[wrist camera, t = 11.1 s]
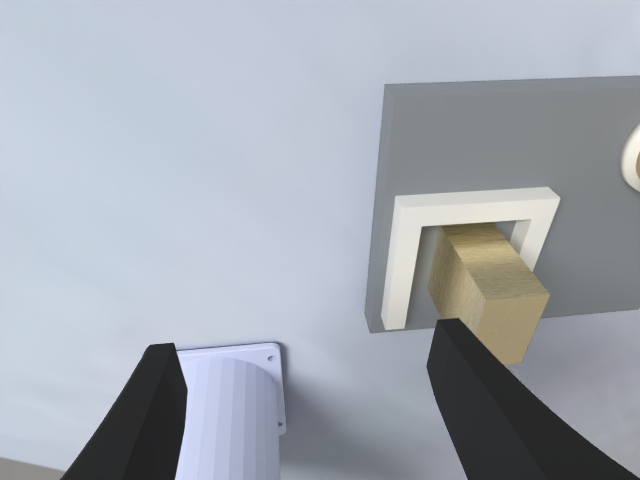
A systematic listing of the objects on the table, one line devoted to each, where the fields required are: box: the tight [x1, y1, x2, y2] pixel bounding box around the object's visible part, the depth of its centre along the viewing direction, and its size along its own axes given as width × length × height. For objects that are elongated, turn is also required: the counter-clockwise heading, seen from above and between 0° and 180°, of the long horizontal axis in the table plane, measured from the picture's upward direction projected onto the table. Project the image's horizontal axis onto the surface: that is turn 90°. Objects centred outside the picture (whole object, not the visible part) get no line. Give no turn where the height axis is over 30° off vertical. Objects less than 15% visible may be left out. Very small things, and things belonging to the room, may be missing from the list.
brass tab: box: [427, 222, 550, 365], centre depth 19 cm, size 4×2×5 cm, turn 0°
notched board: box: [365, 76, 640, 333], centre depth 21 cm, size 13×16×2 cm
